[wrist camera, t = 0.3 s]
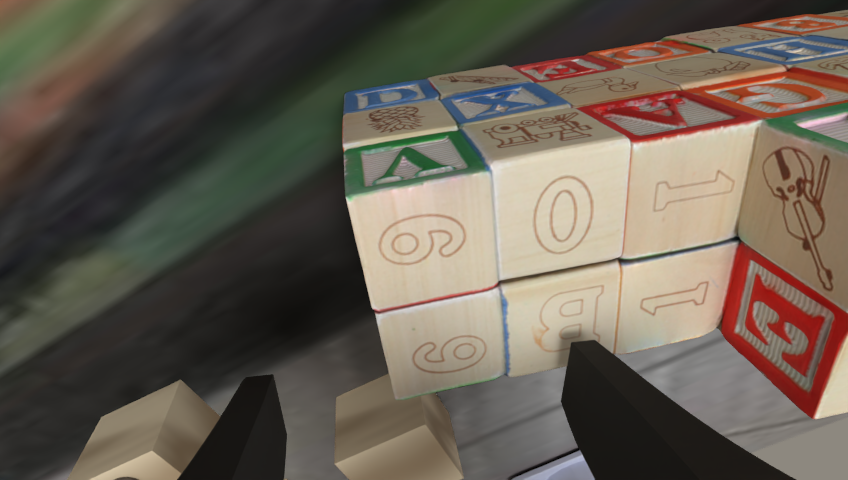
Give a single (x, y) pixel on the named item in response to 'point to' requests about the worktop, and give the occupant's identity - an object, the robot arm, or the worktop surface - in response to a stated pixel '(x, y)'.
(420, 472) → the plain maple block
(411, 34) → the worktop surface
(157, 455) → the two-dot maple block
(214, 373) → the worktop surface
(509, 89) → the stack of blocks
